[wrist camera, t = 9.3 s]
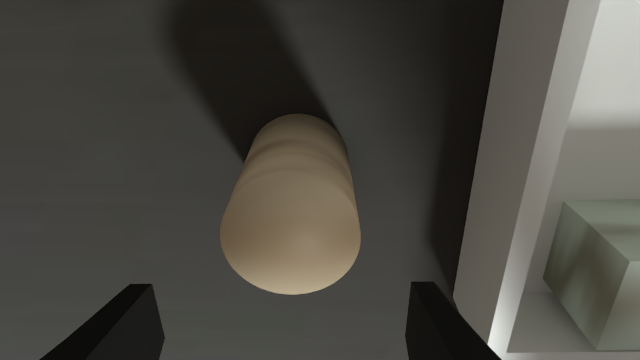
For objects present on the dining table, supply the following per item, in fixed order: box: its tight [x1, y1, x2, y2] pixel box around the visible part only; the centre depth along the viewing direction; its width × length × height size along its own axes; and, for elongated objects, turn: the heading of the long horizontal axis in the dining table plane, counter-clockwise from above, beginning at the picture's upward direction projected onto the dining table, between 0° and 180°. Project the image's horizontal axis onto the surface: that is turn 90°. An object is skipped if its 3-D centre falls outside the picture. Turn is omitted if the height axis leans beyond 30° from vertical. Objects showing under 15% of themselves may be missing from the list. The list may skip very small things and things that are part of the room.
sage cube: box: [543, 199, 640, 350], centre depth 20 cm, size 5×5×5 cm
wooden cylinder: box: [220, 114, 361, 294], centre depth 18 cm, size 5×5×7 cm
